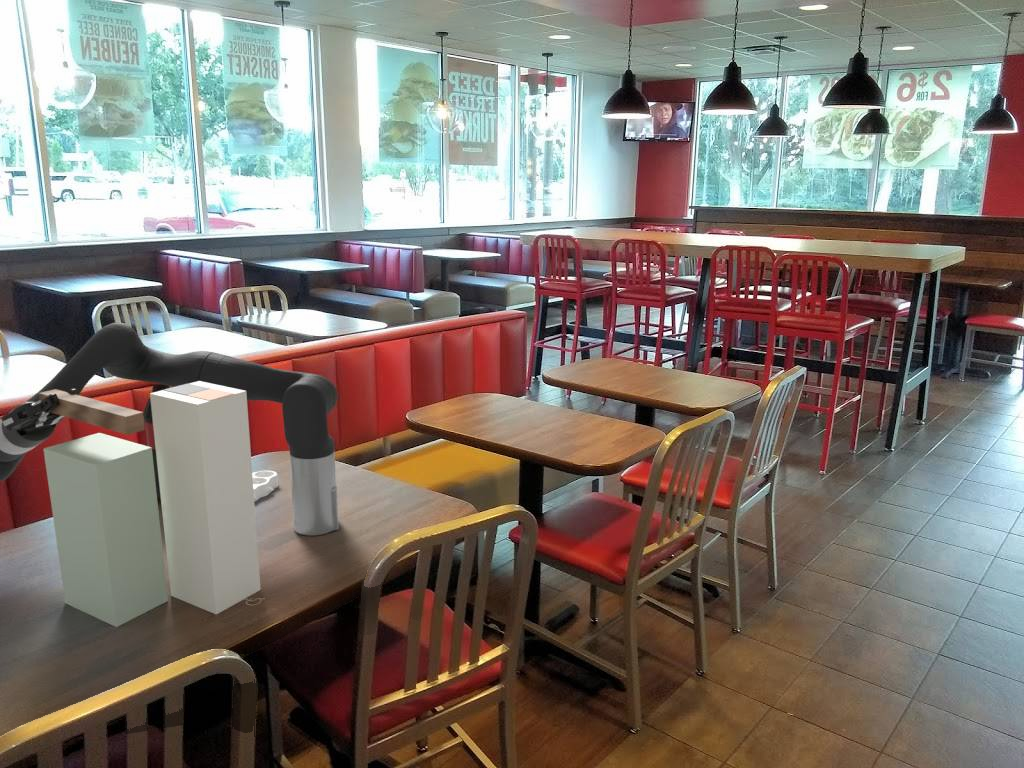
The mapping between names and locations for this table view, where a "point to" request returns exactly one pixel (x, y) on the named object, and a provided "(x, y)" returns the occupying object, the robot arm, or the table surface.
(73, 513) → the step
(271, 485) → the white brass knuckles
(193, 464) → the stand
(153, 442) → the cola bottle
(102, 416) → the bar
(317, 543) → the table surface
